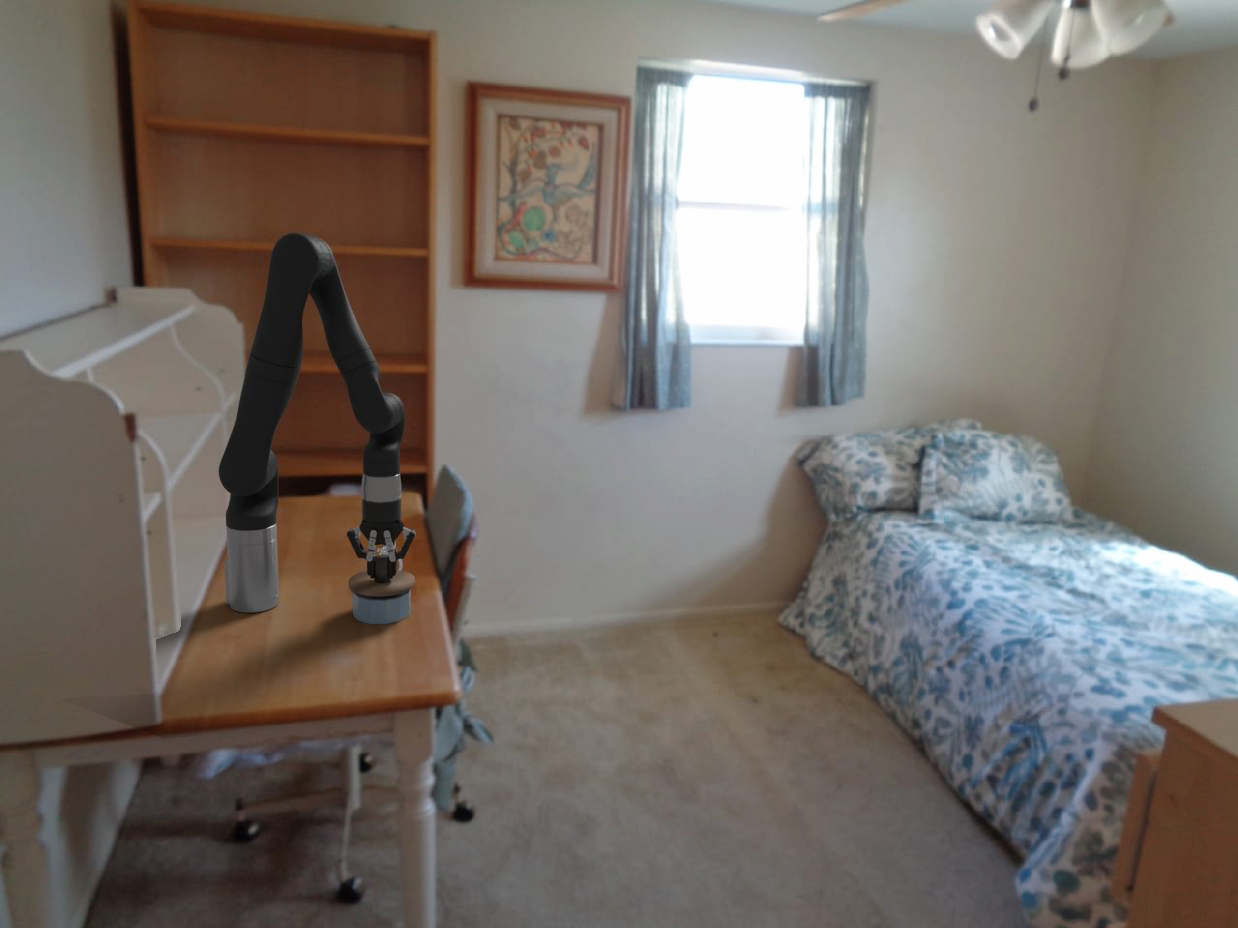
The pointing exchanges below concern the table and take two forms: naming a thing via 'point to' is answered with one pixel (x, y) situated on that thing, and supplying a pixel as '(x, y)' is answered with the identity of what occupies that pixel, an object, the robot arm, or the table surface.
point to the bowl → (381, 608)
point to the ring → (384, 551)
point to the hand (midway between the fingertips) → (381, 576)
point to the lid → (381, 580)
